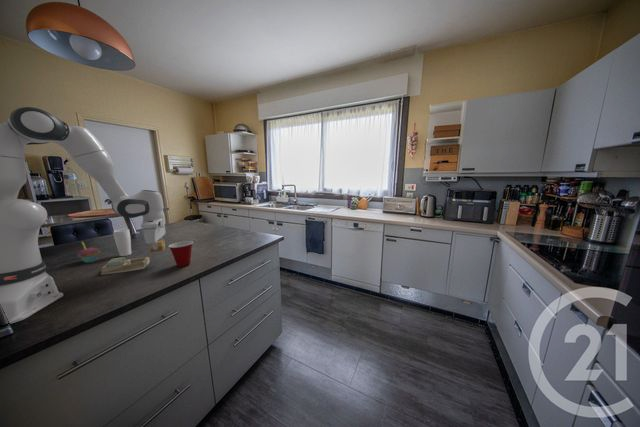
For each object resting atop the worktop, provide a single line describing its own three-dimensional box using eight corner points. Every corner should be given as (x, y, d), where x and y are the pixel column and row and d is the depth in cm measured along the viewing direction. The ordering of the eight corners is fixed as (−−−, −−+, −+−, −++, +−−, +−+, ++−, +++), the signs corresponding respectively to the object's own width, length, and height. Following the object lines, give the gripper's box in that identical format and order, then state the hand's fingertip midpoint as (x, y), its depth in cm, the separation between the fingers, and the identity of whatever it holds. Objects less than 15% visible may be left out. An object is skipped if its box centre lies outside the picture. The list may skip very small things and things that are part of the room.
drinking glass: (123, 257, 119) (119, 232, 116) (114, 256, 120) (109, 231, 117) (136, 253, 125) (132, 229, 122) (127, 252, 127) (123, 228, 124)
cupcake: (89, 264, 110) (84, 242, 108) (73, 264, 110) (68, 242, 108) (106, 257, 118) (102, 237, 116) (91, 257, 119) (87, 237, 116)
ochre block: (162, 251, 108) (161, 241, 108) (150, 252, 106) (149, 243, 106) (165, 248, 113) (164, 239, 112) (153, 249, 111) (152, 240, 110)
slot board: (143, 268, 105) (142, 259, 104) (101, 275, 98) (99, 265, 98) (150, 261, 114) (148, 252, 113) (111, 266, 107) (110, 257, 106)
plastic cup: (189, 258, 118) (187, 238, 115) (199, 263, 112) (196, 242, 109) (167, 265, 109) (164, 243, 107) (176, 271, 103) (173, 248, 101)
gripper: (153, 218, 115) (156, 242, 118) (139, 226, 97) (143, 254, 99) (167, 217, 118) (169, 241, 120) (156, 225, 99) (159, 252, 102)
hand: (157, 247), depth 109 cm, fingers closed on ochre block, 5 cm apart
